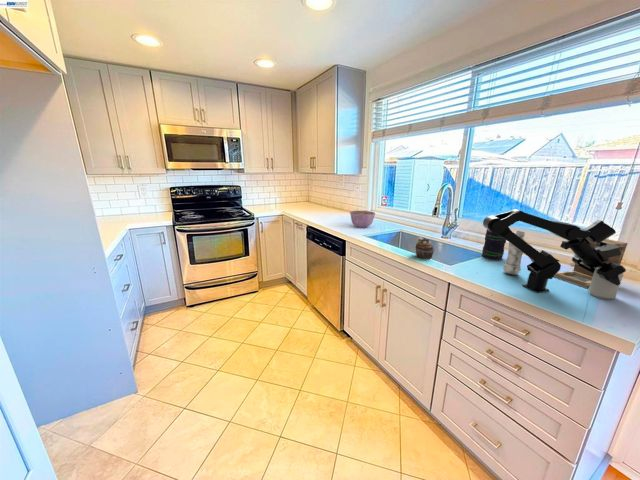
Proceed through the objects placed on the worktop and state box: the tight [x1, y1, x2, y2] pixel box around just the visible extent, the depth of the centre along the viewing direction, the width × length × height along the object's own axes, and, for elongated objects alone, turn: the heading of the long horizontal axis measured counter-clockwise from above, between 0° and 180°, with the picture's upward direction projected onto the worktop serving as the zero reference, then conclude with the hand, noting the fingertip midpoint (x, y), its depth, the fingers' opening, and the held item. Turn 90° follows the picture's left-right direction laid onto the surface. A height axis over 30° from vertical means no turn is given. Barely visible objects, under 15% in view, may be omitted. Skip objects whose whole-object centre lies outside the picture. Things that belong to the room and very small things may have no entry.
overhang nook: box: [553, 238, 628, 289], centre depth 116 cm, size 17×14×18 cm
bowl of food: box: [349, 210, 376, 229], centre depth 214 cm, size 20×20×12 cm
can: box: [587, 267, 624, 300], centre depth 102 cm, size 8×8×12 cm
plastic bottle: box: [502, 230, 526, 276], centre depth 121 cm, size 6×7×20 cm
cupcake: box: [415, 237, 435, 260], centre depth 144 cm, size 10×10×10 cm
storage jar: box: [481, 229, 507, 261], centre depth 145 cm, size 10×10×15 cm
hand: (610, 280), depth 101 cm, fingers closed on can, 7 cm apart
